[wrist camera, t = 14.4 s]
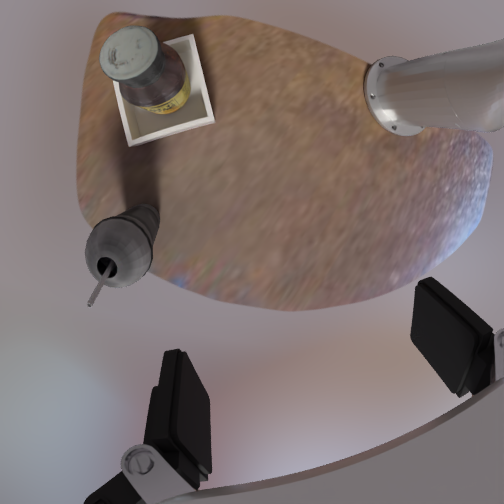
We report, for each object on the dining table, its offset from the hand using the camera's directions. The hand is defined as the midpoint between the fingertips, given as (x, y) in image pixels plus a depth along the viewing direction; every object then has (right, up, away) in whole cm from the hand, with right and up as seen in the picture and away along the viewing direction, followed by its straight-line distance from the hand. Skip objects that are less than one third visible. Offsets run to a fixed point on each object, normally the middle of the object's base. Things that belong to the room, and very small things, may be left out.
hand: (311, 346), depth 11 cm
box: (-13, +24, +22) cm, 35 cm away
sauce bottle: (-13, +24, +21) cm, 34 cm away
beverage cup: (-17, +8, +28) cm, 34 cm away
